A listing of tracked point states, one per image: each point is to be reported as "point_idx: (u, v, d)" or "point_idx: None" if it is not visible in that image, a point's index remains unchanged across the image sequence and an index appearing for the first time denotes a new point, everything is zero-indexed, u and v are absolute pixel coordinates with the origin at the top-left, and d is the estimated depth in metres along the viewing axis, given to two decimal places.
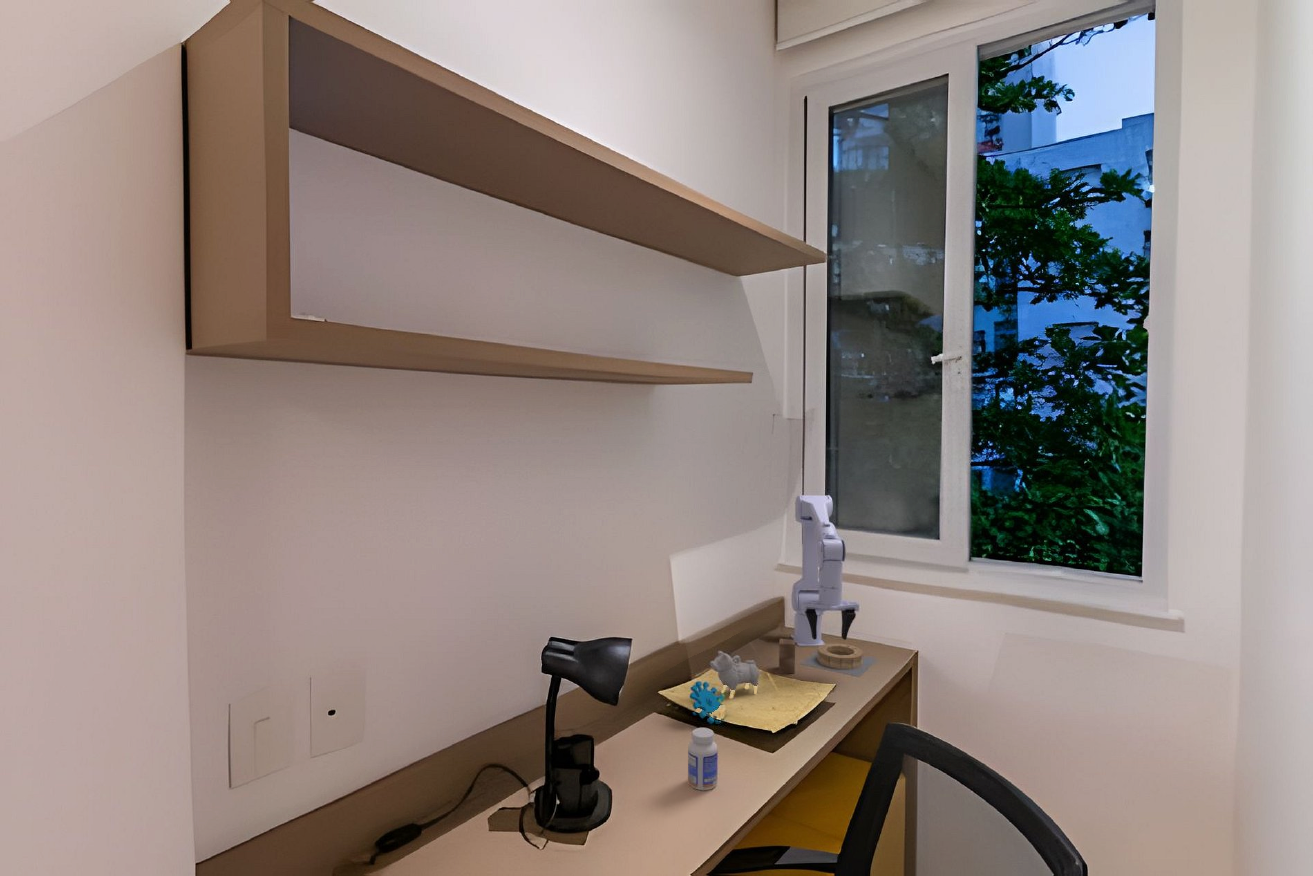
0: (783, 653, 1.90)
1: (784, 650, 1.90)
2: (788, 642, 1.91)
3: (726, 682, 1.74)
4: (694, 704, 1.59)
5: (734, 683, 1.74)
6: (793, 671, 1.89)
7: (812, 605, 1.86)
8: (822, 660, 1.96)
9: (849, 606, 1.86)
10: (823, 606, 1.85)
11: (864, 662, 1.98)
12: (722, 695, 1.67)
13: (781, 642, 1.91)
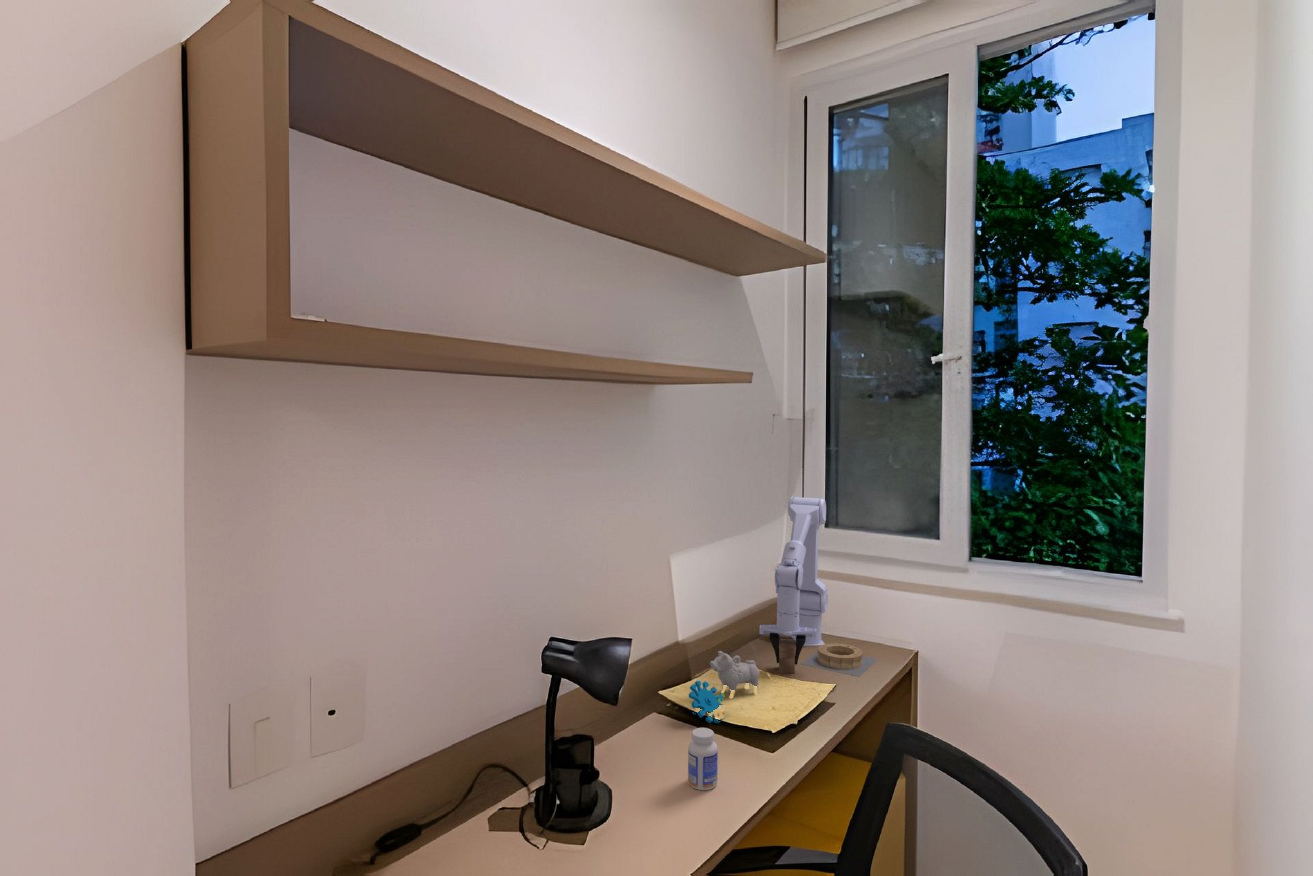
0: (783, 653, 1.90)
1: (784, 650, 1.90)
2: (788, 642, 1.91)
3: (726, 682, 1.74)
4: (693, 703, 1.60)
5: (734, 683, 1.74)
6: (793, 671, 1.89)
7: (768, 629, 1.91)
8: (822, 660, 1.96)
9: (805, 632, 1.89)
10: (778, 631, 1.89)
11: (864, 662, 1.98)
12: (722, 695, 1.67)
13: (781, 642, 1.91)
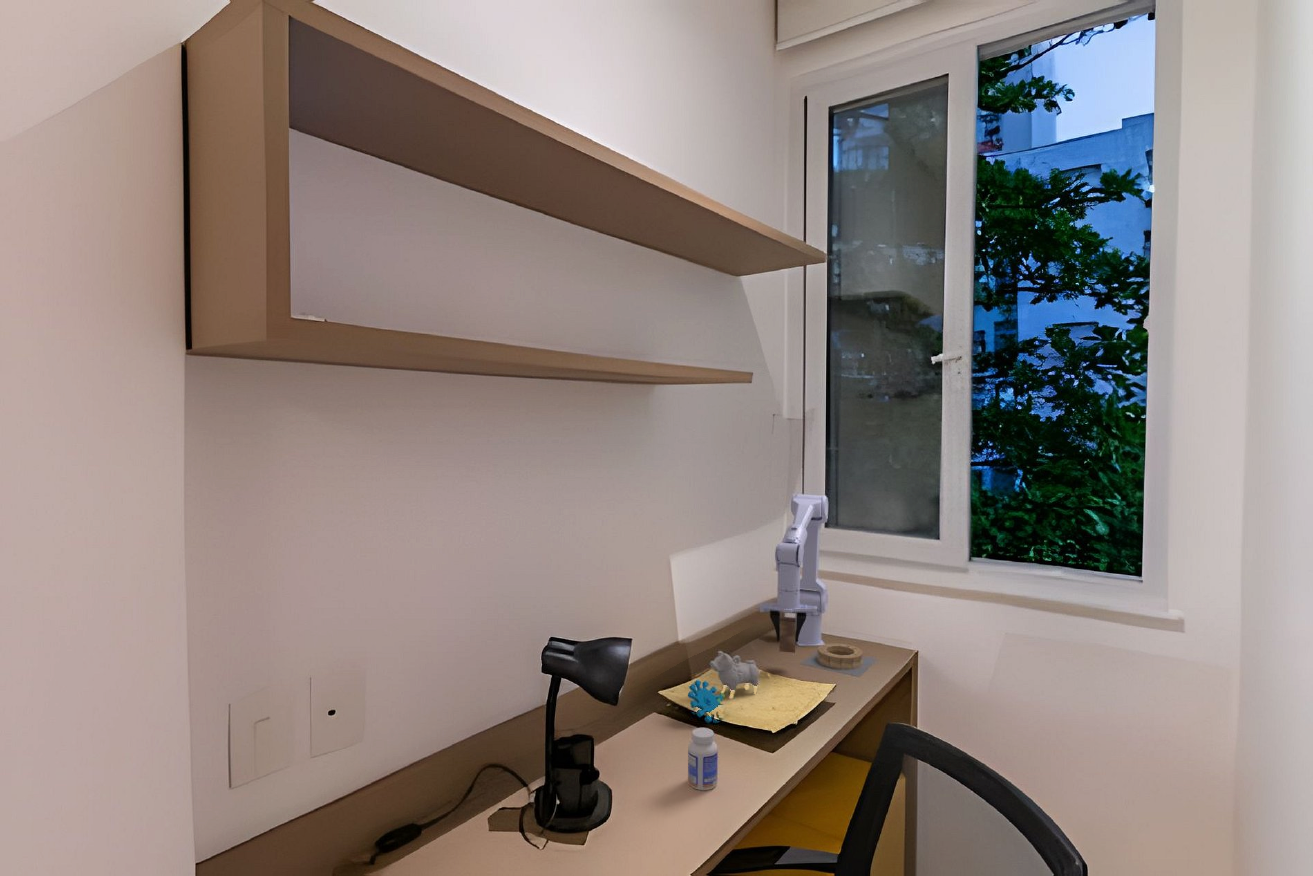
0: (783, 630, 1.89)
1: (784, 627, 1.89)
2: (788, 619, 1.91)
3: (726, 682, 1.74)
4: (692, 703, 1.60)
5: (734, 683, 1.74)
6: (793, 648, 1.89)
7: (769, 607, 1.90)
8: (822, 660, 1.96)
9: (806, 610, 1.88)
10: (779, 608, 1.89)
11: (864, 662, 1.98)
12: (722, 695, 1.67)
13: (782, 620, 1.90)
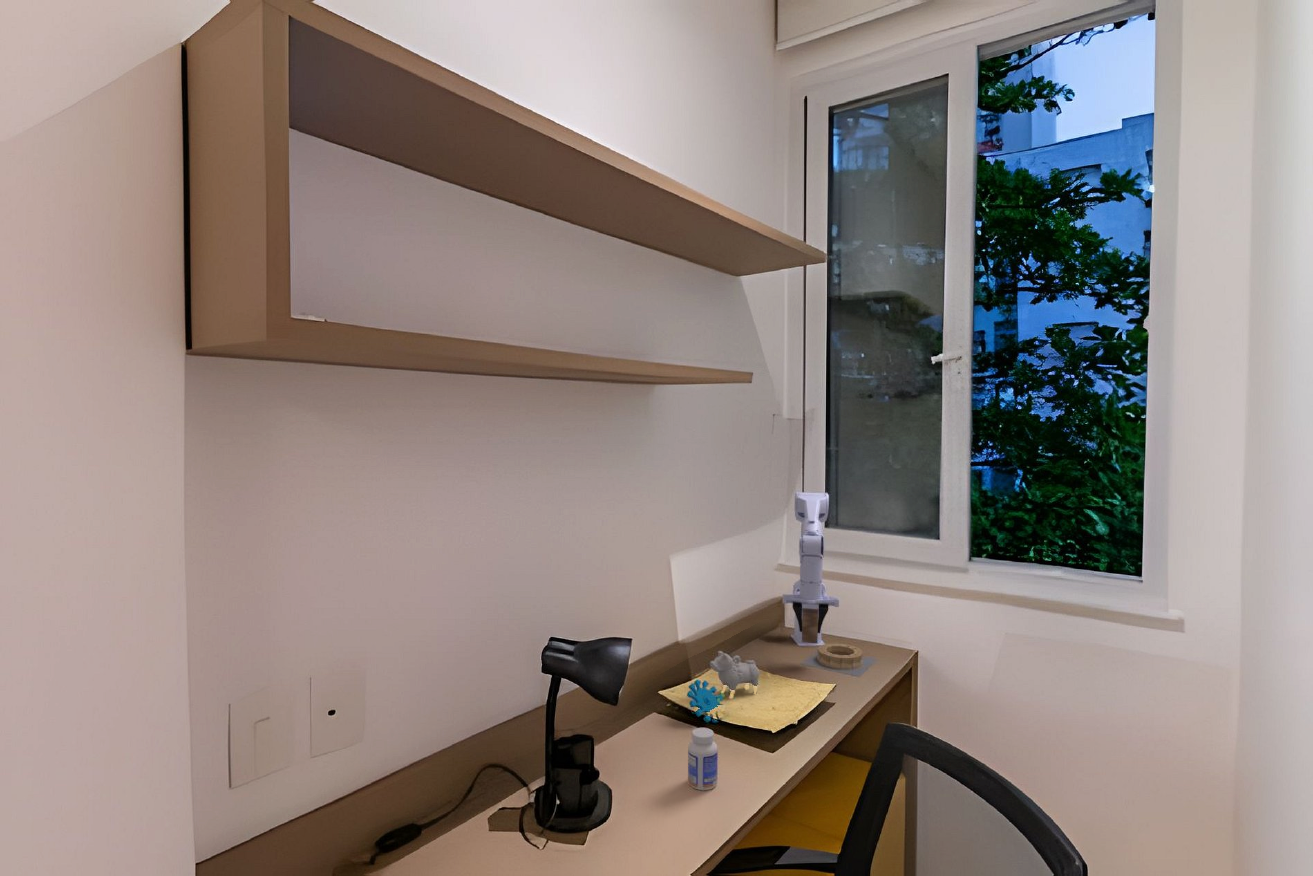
0: (806, 621, 1.92)
1: (807, 618, 1.92)
2: (810, 611, 1.93)
3: (726, 682, 1.74)
4: (691, 702, 1.60)
5: (734, 683, 1.74)
6: (816, 639, 1.92)
7: (791, 598, 1.93)
8: (822, 660, 1.96)
9: (828, 601, 1.91)
10: (801, 599, 1.92)
11: (864, 662, 1.98)
12: (721, 695, 1.67)
13: (804, 611, 1.93)
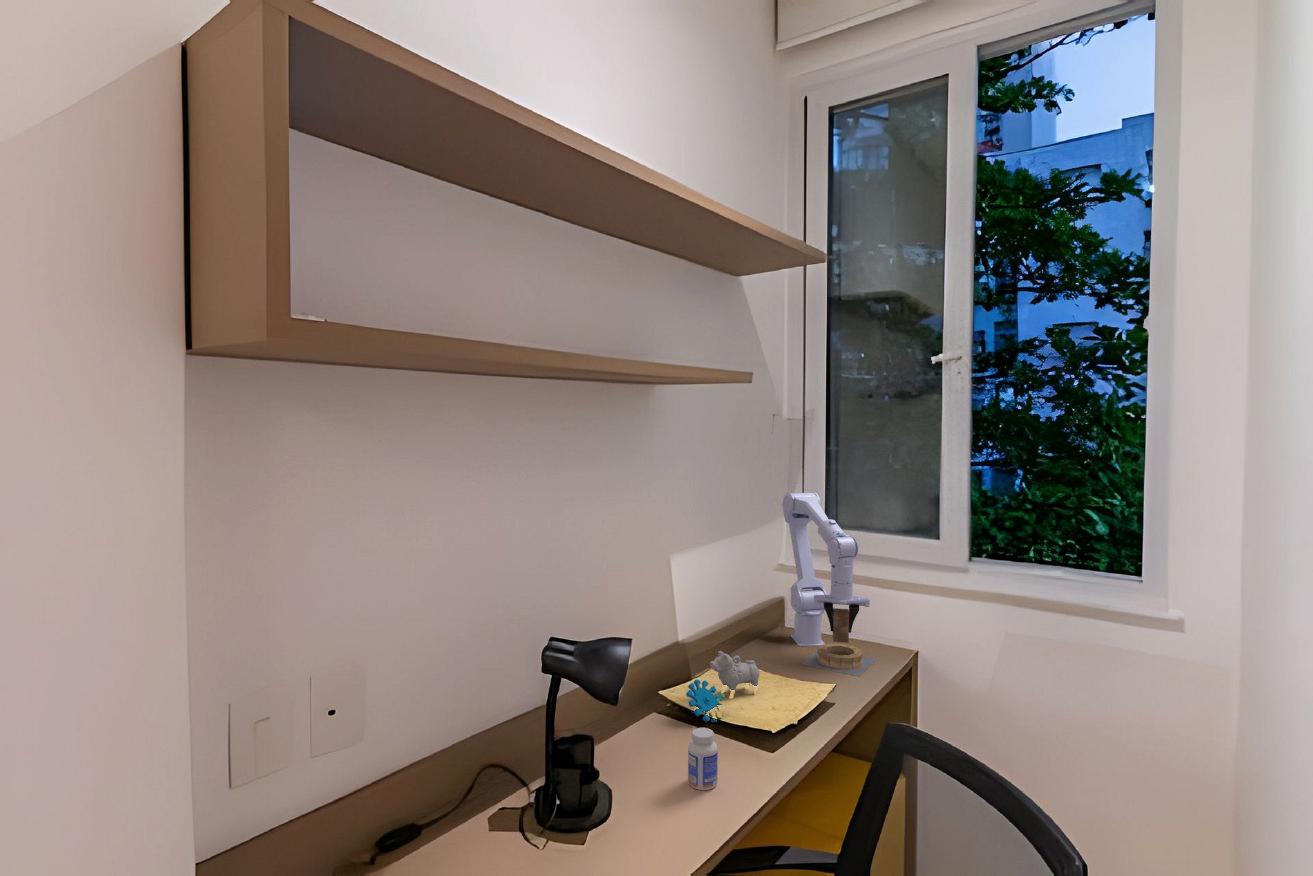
0: (837, 621, 1.96)
1: (838, 618, 1.96)
2: (841, 611, 1.98)
3: (726, 682, 1.74)
4: (690, 702, 1.60)
5: (734, 683, 1.74)
6: (847, 639, 1.96)
7: (823, 598, 1.97)
8: (822, 660, 1.96)
9: (859, 601, 1.95)
10: (833, 600, 1.96)
11: (864, 662, 1.98)
12: (721, 694, 1.67)
13: (835, 611, 1.97)
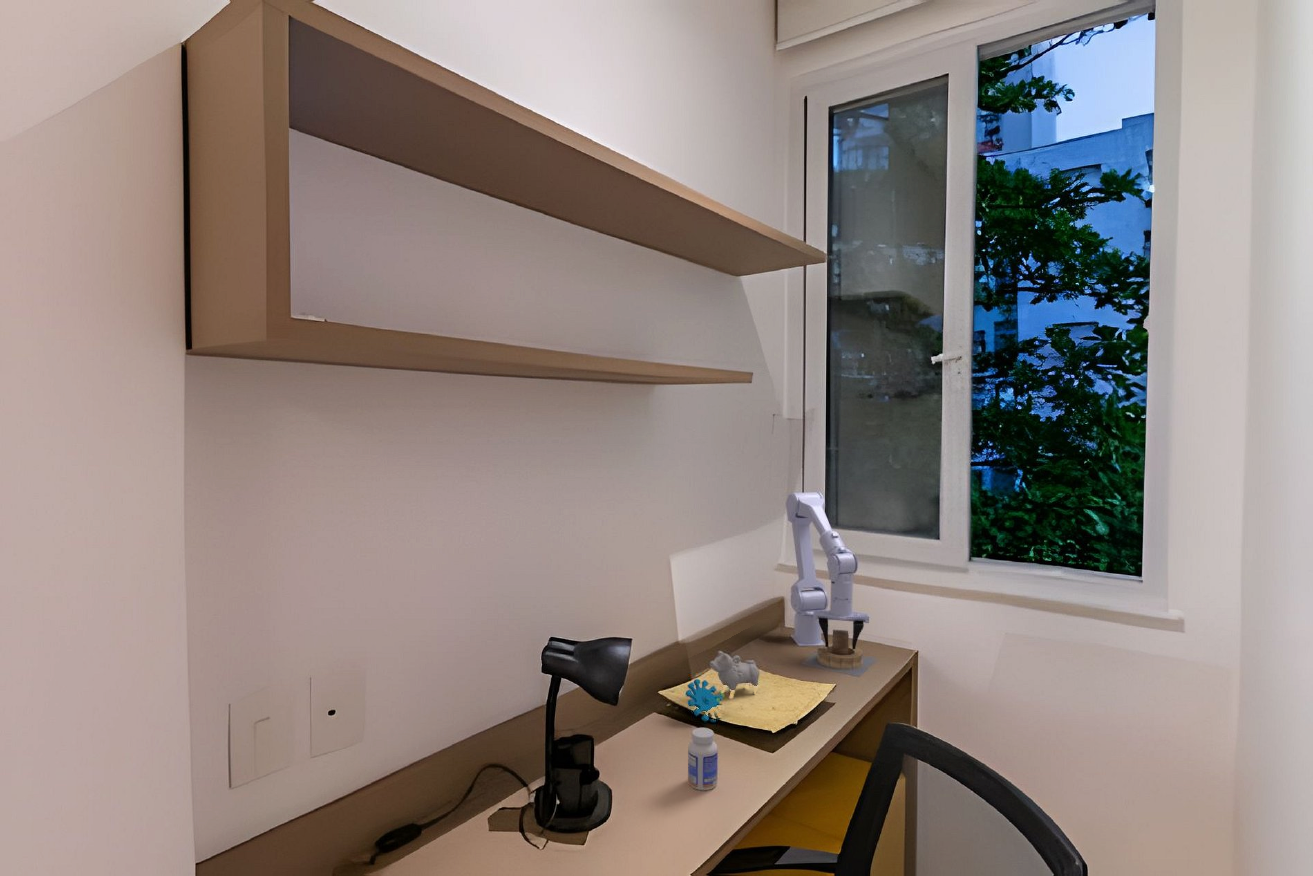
0: (837, 643, 1.97)
1: (838, 640, 1.97)
2: (841, 632, 1.98)
3: (726, 682, 1.74)
4: (689, 701, 1.61)
5: (734, 683, 1.74)
6: None
7: (822, 614, 1.98)
8: (822, 660, 1.96)
9: (859, 617, 1.96)
10: (832, 616, 1.96)
11: (864, 662, 1.98)
12: (721, 694, 1.67)
13: (835, 633, 1.98)
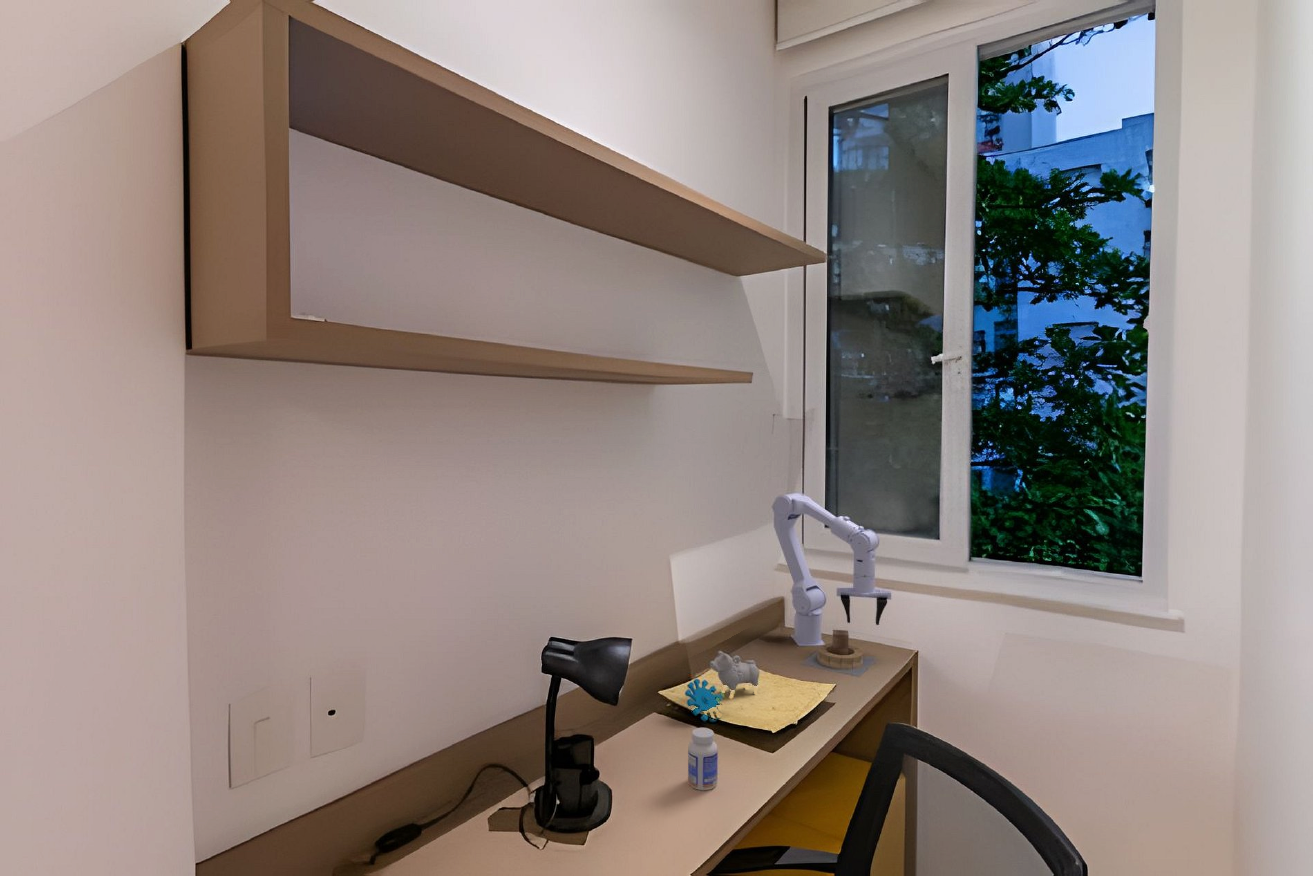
0: (837, 643, 1.97)
1: (838, 640, 1.97)
2: (841, 632, 1.98)
3: (726, 682, 1.74)
4: (688, 701, 1.61)
5: (734, 683, 1.74)
6: None
7: (845, 591, 2.03)
8: (822, 660, 1.96)
9: (881, 594, 2.01)
10: (855, 592, 2.01)
11: (864, 662, 1.98)
12: (721, 694, 1.67)
13: (835, 633, 1.98)
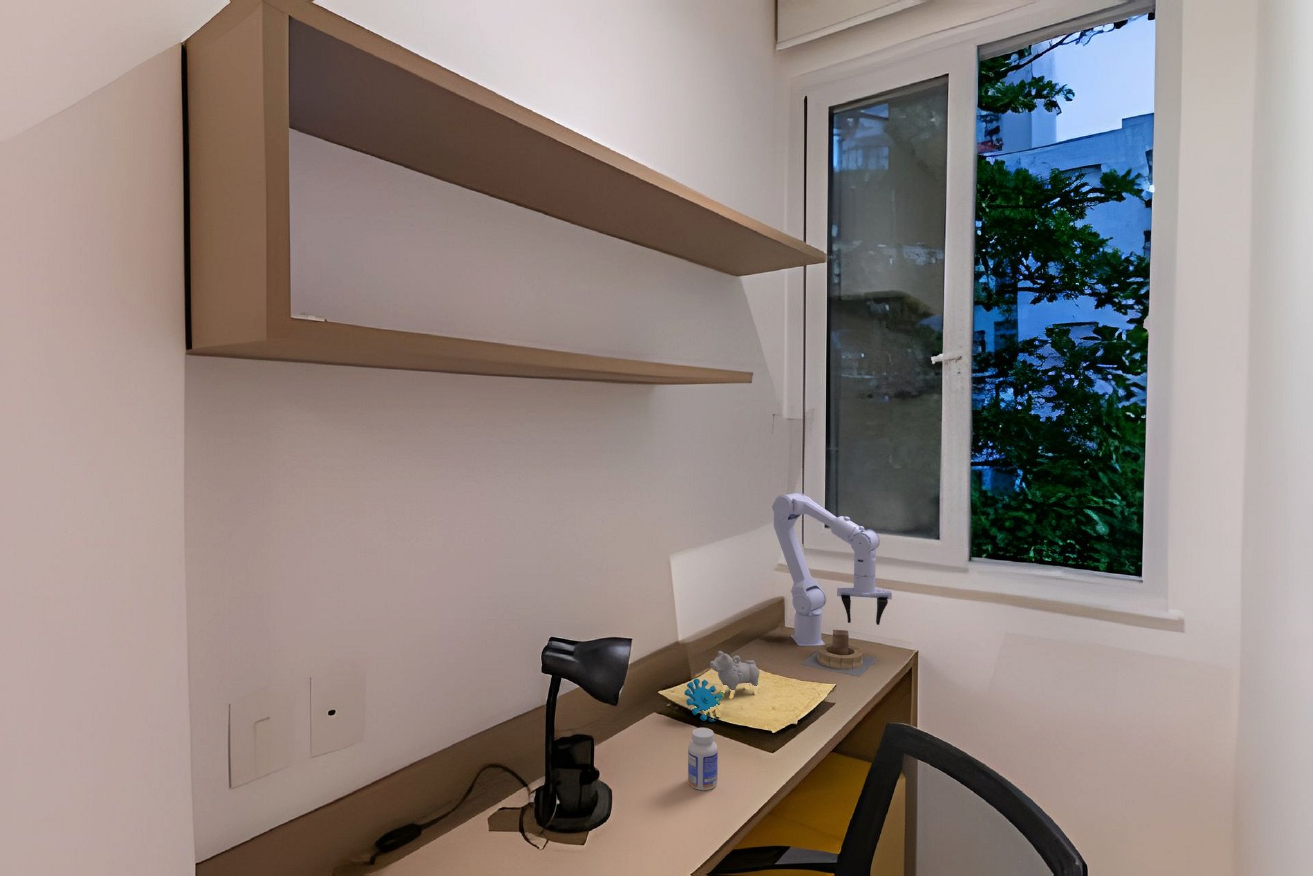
0: (837, 643, 1.97)
1: (838, 640, 1.97)
2: (841, 632, 1.98)
3: (726, 682, 1.74)
4: (687, 701, 1.61)
5: (734, 683, 1.74)
6: None
7: (846, 591, 2.03)
8: (822, 660, 1.96)
9: (882, 594, 2.01)
10: (856, 592, 2.01)
11: (864, 662, 1.98)
12: (721, 694, 1.67)
13: (835, 633, 1.98)
